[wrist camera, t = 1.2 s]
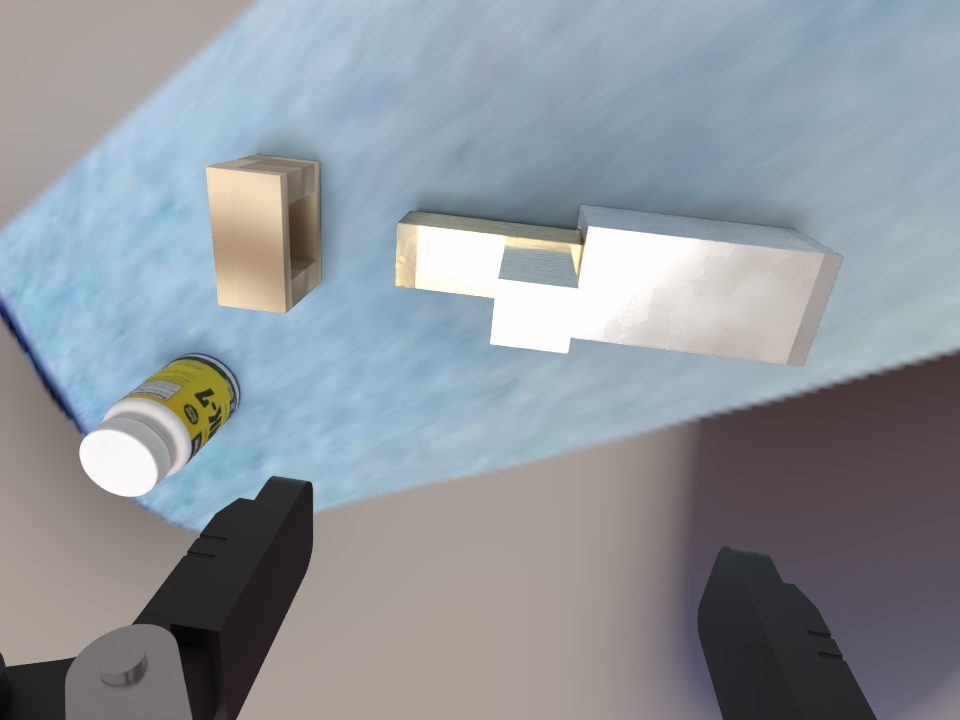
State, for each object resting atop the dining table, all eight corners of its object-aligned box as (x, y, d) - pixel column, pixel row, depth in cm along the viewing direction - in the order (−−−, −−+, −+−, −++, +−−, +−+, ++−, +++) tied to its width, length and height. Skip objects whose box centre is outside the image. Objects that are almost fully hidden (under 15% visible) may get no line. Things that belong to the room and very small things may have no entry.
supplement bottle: (244, 424, 38) (171, 510, 30) (172, 416, 38) (80, 498, 30) (237, 356, 36) (156, 429, 28) (161, 347, 36) (60, 417, 28)
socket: (256, 154, 31) (205, 166, 26) (319, 161, 31) (280, 175, 26) (263, 274, 33) (218, 305, 29) (321, 281, 33) (285, 313, 29)
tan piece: (410, 210, 30) (363, 257, 22) (770, 253, 29) (859, 318, 21) (407, 268, 31) (362, 332, 23) (752, 310, 31) (830, 391, 23)
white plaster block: (580, 204, 30) (588, 226, 26) (795, 229, 30) (843, 256, 25) (564, 300, 32) (569, 337, 28) (764, 325, 32) (803, 366, 27)
